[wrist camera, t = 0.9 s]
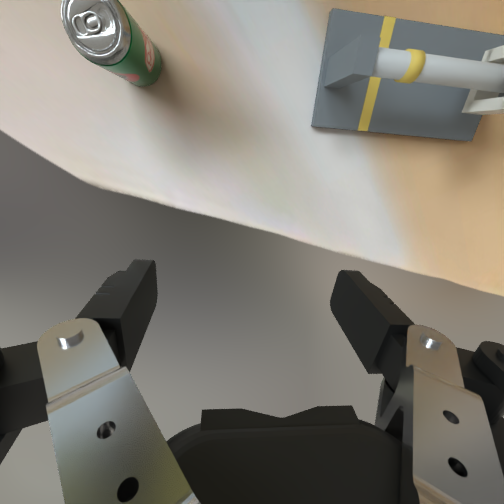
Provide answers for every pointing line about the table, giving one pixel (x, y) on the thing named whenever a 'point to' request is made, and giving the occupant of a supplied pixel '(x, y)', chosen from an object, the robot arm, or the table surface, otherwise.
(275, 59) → the table surface
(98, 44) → the soda can
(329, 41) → the rail stand
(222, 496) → the robot arm
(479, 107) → the collar
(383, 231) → the table surface
